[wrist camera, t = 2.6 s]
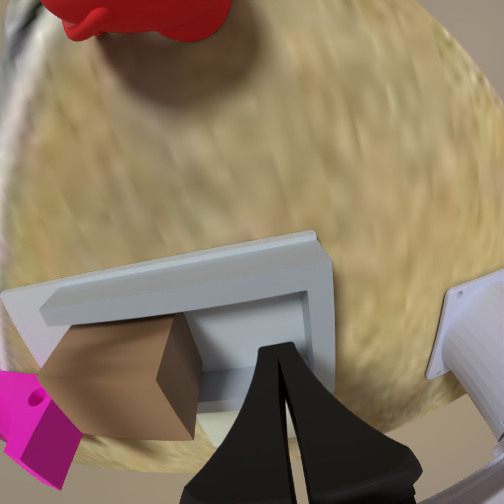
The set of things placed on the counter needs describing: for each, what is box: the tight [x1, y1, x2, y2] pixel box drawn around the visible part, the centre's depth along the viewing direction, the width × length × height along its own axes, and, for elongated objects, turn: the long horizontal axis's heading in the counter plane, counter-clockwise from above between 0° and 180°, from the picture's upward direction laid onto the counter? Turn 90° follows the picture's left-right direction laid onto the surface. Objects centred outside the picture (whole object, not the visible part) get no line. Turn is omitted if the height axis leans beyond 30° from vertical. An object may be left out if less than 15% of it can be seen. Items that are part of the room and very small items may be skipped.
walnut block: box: [36, 312, 203, 441], centre depth 11 cm, size 6×4×5 cm, turn 100°
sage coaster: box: [196, 403, 296, 447], centre depth 17 cm, size 7×7×1 cm
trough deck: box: [0, 230, 335, 414], centre depth 13 cm, size 19×8×3 cm, turn 100°
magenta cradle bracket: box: [0, 371, 83, 490], centre depth 13 cm, size 15×6×8 cm, turn 103°
